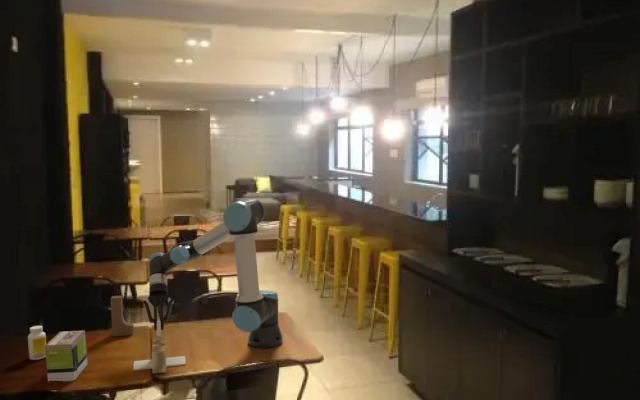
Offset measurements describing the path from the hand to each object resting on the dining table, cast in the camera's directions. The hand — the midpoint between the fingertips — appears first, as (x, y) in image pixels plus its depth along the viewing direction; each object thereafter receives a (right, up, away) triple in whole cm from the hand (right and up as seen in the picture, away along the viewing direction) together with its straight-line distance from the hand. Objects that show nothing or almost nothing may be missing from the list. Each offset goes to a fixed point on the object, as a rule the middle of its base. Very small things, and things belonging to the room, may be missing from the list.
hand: (159, 337), depth 222 cm
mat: (+1, -10, -2) cm, 11 cm away
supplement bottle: (-52, -10, +6) cm, 53 cm away
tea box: (-32, -12, -11) cm, 36 cm away
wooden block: (-26, -7, +32) cm, 42 cm away
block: (-1, -5, +3) cm, 6 cm away
